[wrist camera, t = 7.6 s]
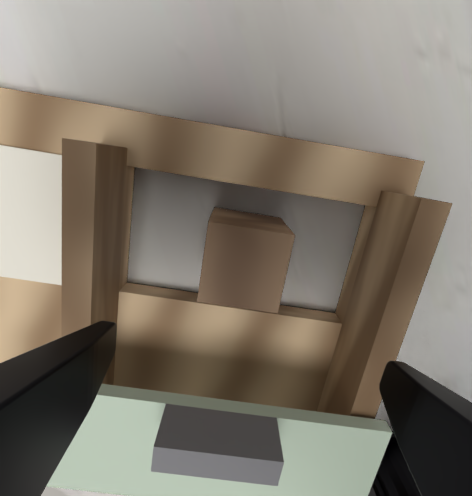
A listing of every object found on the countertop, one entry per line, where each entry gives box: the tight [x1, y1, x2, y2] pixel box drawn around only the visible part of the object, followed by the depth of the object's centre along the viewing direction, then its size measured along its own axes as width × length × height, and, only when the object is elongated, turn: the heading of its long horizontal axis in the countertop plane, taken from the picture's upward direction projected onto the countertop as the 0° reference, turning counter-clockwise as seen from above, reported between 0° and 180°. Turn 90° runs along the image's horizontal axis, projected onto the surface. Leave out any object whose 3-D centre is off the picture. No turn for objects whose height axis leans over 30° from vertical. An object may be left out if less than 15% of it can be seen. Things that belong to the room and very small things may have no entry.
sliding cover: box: [46, 384, 392, 496], centre depth 16 cm, size 19×7×3 cm, turn 81°
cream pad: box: [0, 145, 62, 285], centre depth 18 cm, size 7×8×1 cm
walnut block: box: [197, 207, 295, 313], centre depth 18 cm, size 4×4×5 cm
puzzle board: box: [0, 87, 452, 419], centre depth 19 cm, size 28×23×6 cm
